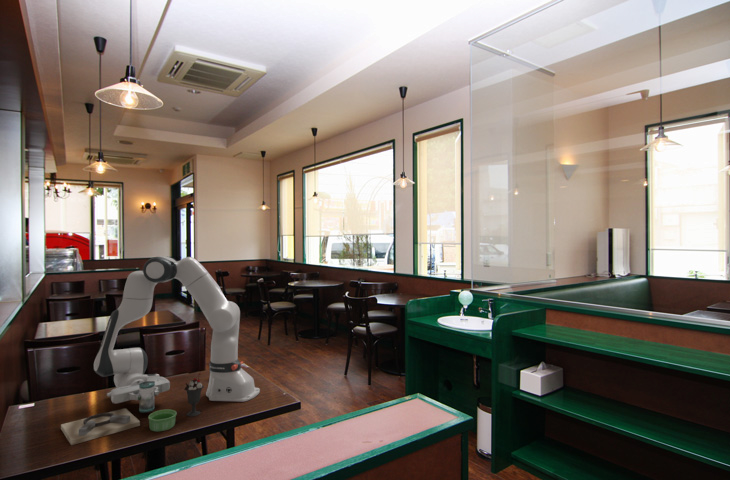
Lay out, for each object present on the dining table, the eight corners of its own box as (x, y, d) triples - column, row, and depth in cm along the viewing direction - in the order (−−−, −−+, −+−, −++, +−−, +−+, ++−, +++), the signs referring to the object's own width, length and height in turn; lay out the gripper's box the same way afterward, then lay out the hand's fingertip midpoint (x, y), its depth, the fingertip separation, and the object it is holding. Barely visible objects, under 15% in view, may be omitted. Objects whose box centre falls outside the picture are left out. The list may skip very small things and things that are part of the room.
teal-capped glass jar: (157, 407, 155) (157, 381, 155) (147, 413, 150) (147, 386, 150) (145, 406, 156) (146, 380, 156) (135, 411, 151) (135, 385, 151)
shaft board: (125, 412, 154) (125, 402, 154) (139, 425, 143) (140, 415, 143) (60, 428, 140) (61, 418, 140) (71, 445, 129) (71, 434, 129)
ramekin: (156, 420, 148) (157, 408, 148) (181, 421, 148) (181, 409, 148) (142, 432, 139) (142, 419, 139) (168, 433, 139) (168, 420, 139)
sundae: (206, 411, 156) (207, 372, 156) (194, 418, 150) (195, 378, 150) (193, 409, 158) (194, 370, 158) (180, 415, 152) (181, 376, 152)
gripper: (105, 385, 154) (116, 394, 145) (162, 372, 169) (175, 380, 160) (105, 401, 154) (116, 412, 145) (161, 387, 169) (175, 396, 160)
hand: (147, 395), depth 152 cm, fingers closed on teal-capped glass jar, 5 cm apart
